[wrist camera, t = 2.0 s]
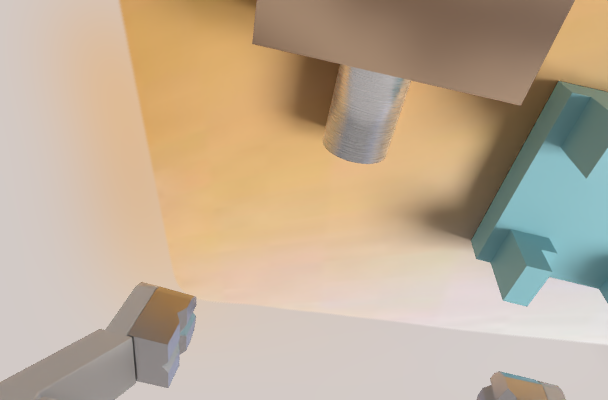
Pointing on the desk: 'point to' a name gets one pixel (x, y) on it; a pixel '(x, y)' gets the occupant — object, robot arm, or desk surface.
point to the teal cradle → (553, 201)
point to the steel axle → (363, 114)
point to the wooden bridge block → (422, 39)
